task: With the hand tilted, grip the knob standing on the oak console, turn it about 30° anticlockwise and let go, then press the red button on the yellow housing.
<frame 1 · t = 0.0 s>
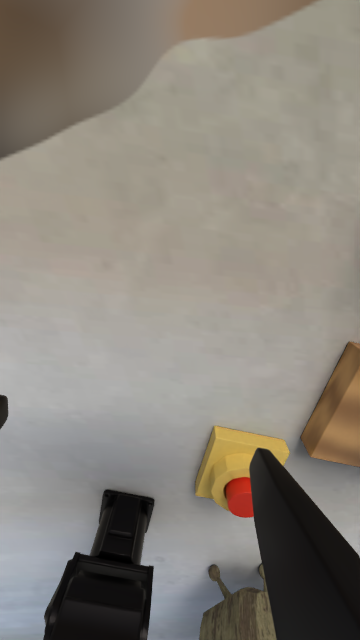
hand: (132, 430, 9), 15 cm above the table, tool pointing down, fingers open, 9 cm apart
button box: (237, 461, 29), on the table
tabletop clock: (254, 568, 36), on the table
button: (244, 496, 25), point 4 cm above the table, slide at 0.1 cm
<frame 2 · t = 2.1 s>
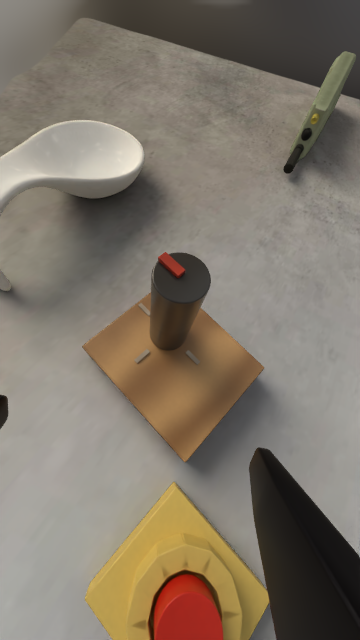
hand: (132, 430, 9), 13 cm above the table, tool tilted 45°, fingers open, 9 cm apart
button box: (178, 582, 17), on the table
console: (173, 363, 23), on the table
knob: (173, 310, 17), point 7 cm above the table, hinge at 0.0°
handheld radio: (305, 136, 40), on the table
spoon rest: (68, 210, 28), on the table
button: (187, 626, 13), point 4 cm above the table, slide at 0.1 cm
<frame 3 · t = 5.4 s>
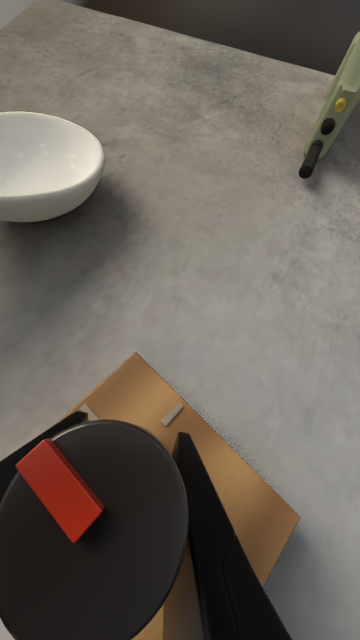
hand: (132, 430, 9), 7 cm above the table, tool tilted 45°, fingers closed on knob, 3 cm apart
console: (144, 497, 14), on the table
knob: (120, 476, 8), point 7 cm above the table, hinge at 0.0°, touching gripper
handheld radio: (321, 131, 32), on the table
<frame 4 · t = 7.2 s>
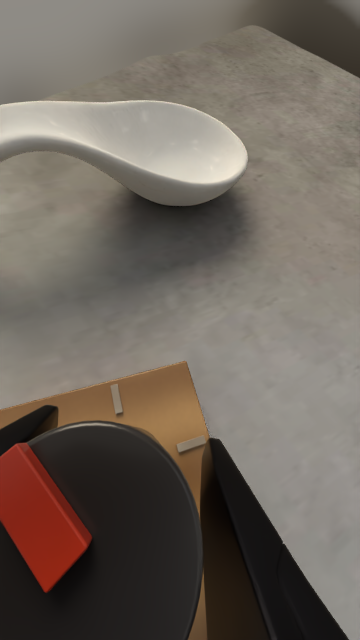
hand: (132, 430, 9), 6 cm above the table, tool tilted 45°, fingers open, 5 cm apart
console: (121, 508, 13), on the table
knob: (117, 486, 7), point 7 cm above the table, hinge at 27.7°
spoon rest: (117, 205, 21), on the table
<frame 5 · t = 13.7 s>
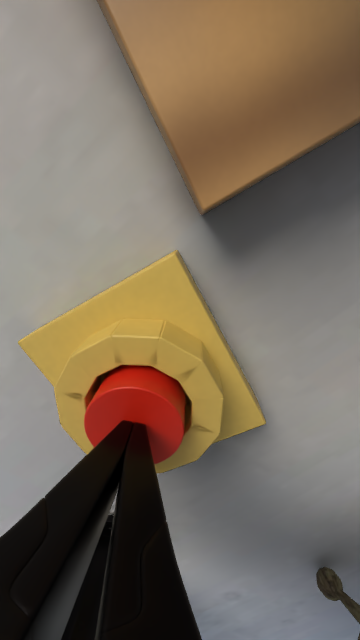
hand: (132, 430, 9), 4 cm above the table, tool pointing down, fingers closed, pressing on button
button box: (152, 365, 13), on the table
button: (138, 412, 9), point 4 cm above the table, slide at -0.4 cm, touching gripper
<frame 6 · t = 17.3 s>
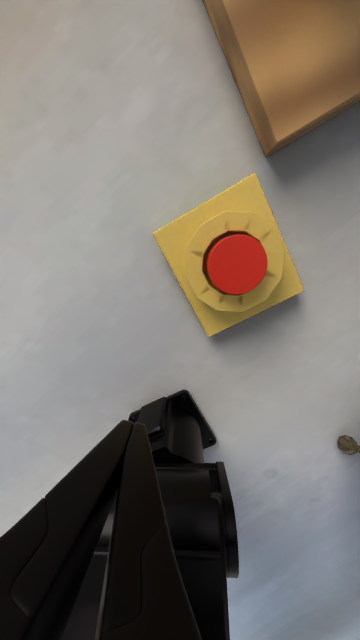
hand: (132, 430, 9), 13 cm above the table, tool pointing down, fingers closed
button box: (226, 261, 20), on the table
console: (302, 16, 15), on the table
button: (235, 264, 16), point 4 cm above the table, slide at 0.1 cm
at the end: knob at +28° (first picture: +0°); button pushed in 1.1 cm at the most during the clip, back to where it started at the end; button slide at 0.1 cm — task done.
